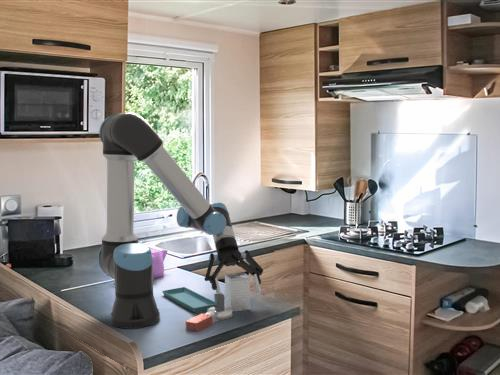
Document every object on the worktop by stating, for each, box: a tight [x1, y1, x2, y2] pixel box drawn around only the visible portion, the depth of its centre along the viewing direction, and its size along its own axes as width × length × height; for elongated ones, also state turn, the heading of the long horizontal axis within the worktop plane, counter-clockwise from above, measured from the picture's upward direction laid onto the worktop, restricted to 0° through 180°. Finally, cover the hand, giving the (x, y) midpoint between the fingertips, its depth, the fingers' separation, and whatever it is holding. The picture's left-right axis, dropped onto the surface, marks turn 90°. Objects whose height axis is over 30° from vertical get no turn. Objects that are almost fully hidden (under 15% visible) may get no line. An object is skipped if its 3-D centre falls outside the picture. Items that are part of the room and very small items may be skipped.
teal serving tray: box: [161, 286, 215, 314], centre depth 202 cm, size 26×9×2 cm, turn 32°
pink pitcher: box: [149, 247, 168, 280], centre depth 238 cm, size 17×17×12 cm
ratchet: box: [185, 292, 233, 333], centre depth 182 cm, size 19×8×7 cm, turn 149°
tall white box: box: [224, 271, 251, 313], centre depth 194 cm, size 6×6×11 cm
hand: (239, 295), depth 192 cm, fingers open, 13 cm apart
